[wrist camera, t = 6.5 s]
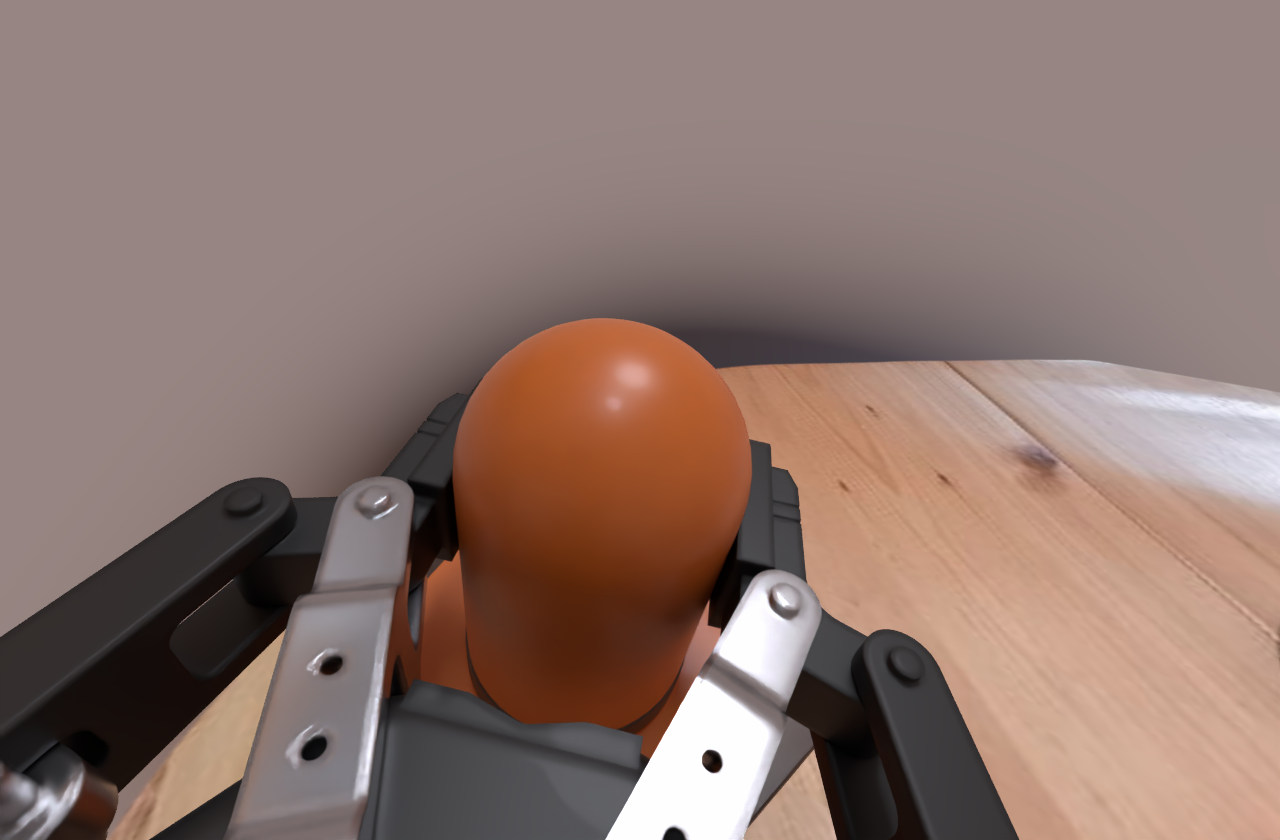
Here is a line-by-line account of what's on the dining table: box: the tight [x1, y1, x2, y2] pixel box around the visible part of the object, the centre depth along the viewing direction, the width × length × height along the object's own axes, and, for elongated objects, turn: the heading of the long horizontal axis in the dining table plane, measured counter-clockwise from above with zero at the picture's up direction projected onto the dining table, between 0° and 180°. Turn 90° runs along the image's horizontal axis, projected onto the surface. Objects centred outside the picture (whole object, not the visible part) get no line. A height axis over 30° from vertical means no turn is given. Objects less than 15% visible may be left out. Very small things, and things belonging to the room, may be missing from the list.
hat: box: [421, 318, 752, 759], centre depth 11 cm, size 9×9×10 cm
